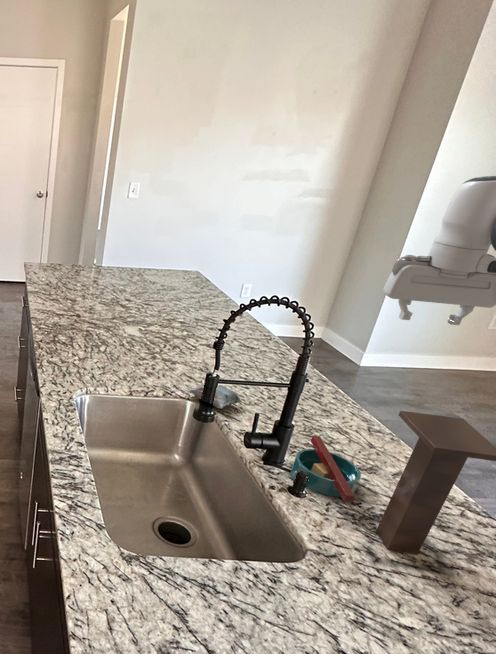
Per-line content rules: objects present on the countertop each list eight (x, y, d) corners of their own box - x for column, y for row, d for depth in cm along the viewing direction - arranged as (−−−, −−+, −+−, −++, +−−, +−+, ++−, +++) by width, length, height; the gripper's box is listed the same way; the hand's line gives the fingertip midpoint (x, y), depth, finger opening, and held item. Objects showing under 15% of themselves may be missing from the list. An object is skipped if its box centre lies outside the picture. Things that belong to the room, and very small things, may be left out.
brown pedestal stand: (413, 531, 106) (469, 419, 94) (446, 578, 95) (514, 458, 84) (346, 521, 108) (393, 409, 97) (371, 565, 97) (428, 446, 86)
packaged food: (220, 415, 144) (224, 399, 142) (184, 396, 153) (188, 380, 151) (240, 408, 148) (245, 392, 146) (204, 390, 157) (208, 375, 155)
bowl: (340, 471, 123) (347, 453, 121) (362, 506, 112) (370, 487, 110) (283, 463, 125) (289, 445, 123) (299, 496, 114) (306, 477, 112)
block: (323, 475, 120) (328, 462, 119) (334, 486, 117) (340, 472, 115) (308, 476, 120) (313, 463, 118) (319, 486, 116) (325, 473, 115)
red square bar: (318, 442, 124) (320, 436, 124) (352, 503, 105) (355, 496, 104) (310, 441, 125) (312, 435, 124) (343, 501, 105) (346, 495, 105)
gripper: (405, 257, 109) (381, 321, 115) (521, 267, 105) (490, 332, 111) (391, 250, 114) (368, 311, 120) (501, 259, 111) (472, 321, 117)
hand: (428, 321), depth 116 cm, fingers open, 8 cm apart
